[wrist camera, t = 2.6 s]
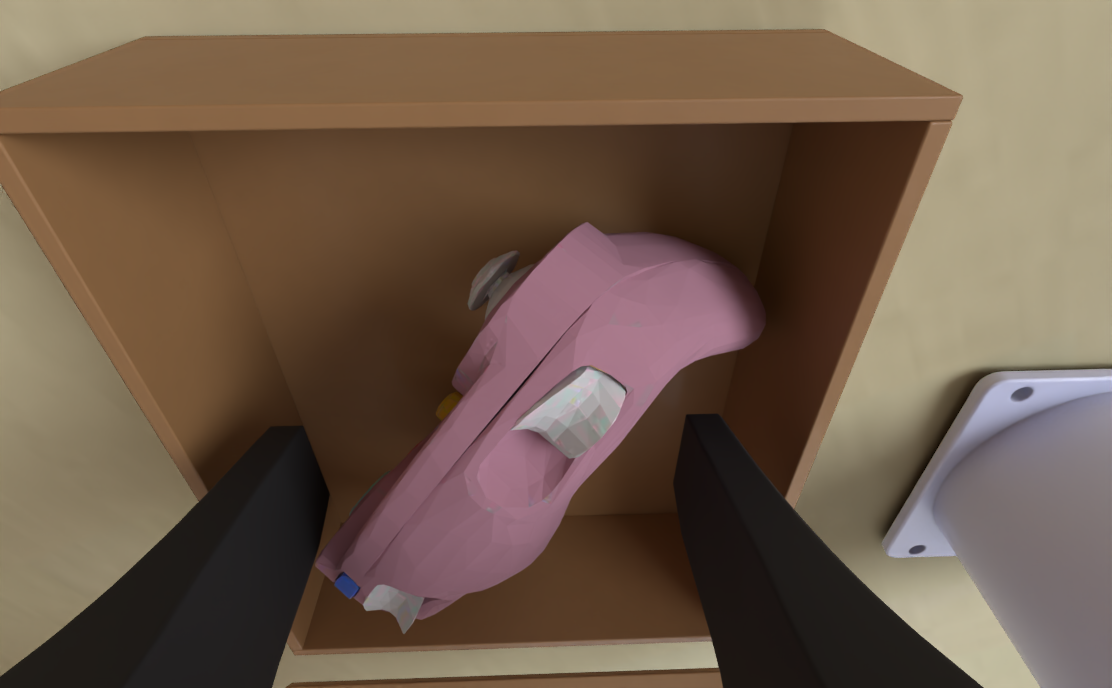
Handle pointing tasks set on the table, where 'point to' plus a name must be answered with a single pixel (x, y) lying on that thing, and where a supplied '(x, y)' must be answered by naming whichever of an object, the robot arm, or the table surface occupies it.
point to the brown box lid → (547, 680)
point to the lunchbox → (468, 260)
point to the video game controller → (536, 411)
